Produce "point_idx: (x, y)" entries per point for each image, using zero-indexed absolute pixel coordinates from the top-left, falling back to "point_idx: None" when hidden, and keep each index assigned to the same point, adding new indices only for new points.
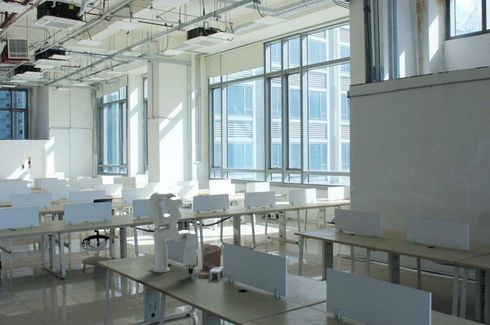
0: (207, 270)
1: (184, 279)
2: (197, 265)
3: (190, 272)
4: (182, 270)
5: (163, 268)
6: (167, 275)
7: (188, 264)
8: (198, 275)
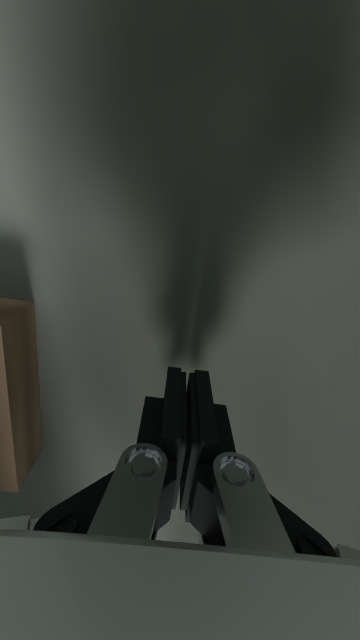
0: None
1: (270, 154)
2: None
3: (178, 385)
4: None
5: None
6: None
7: (268, 567)
8: (13, 314)
